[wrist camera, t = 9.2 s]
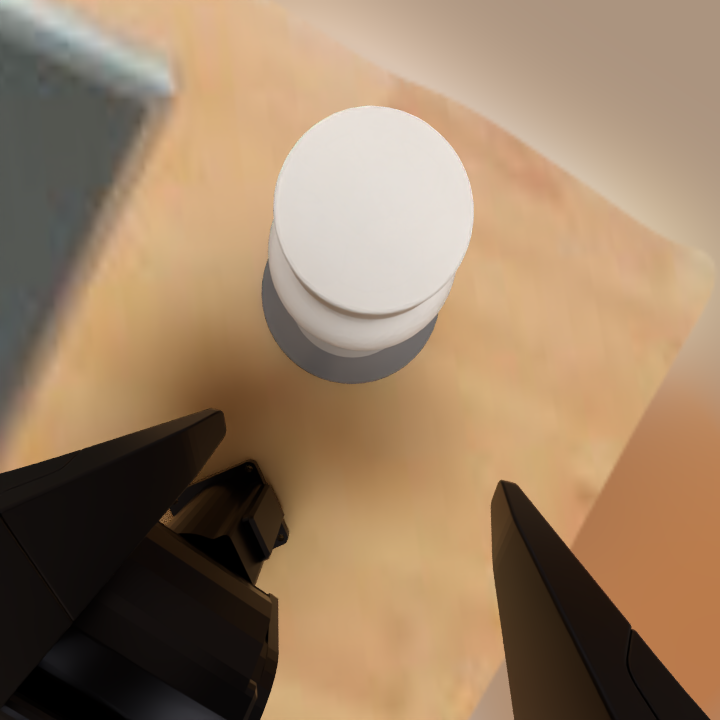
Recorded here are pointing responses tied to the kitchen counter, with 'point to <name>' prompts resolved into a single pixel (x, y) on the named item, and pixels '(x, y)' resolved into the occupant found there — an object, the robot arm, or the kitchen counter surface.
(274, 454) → the kitchen counter surface
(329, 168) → the supplement bottle
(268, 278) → the gray plate
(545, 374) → the kitchen counter surface
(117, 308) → the kitchen counter surface
